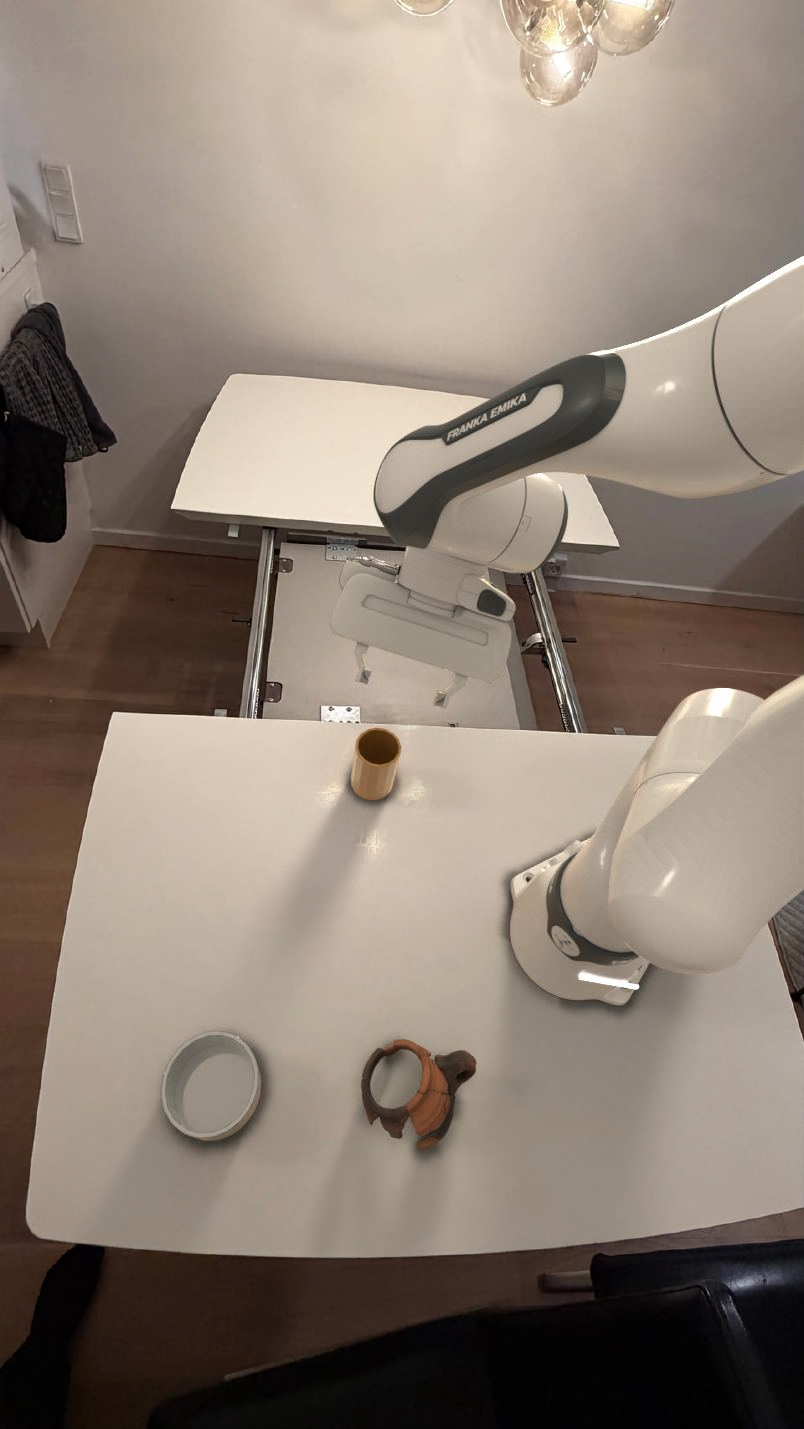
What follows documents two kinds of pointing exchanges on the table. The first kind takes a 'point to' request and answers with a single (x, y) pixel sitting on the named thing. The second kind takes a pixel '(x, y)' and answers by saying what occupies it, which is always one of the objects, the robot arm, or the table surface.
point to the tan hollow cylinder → (375, 763)
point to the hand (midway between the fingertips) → (400, 694)
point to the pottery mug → (421, 1092)
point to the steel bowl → (211, 1086)
